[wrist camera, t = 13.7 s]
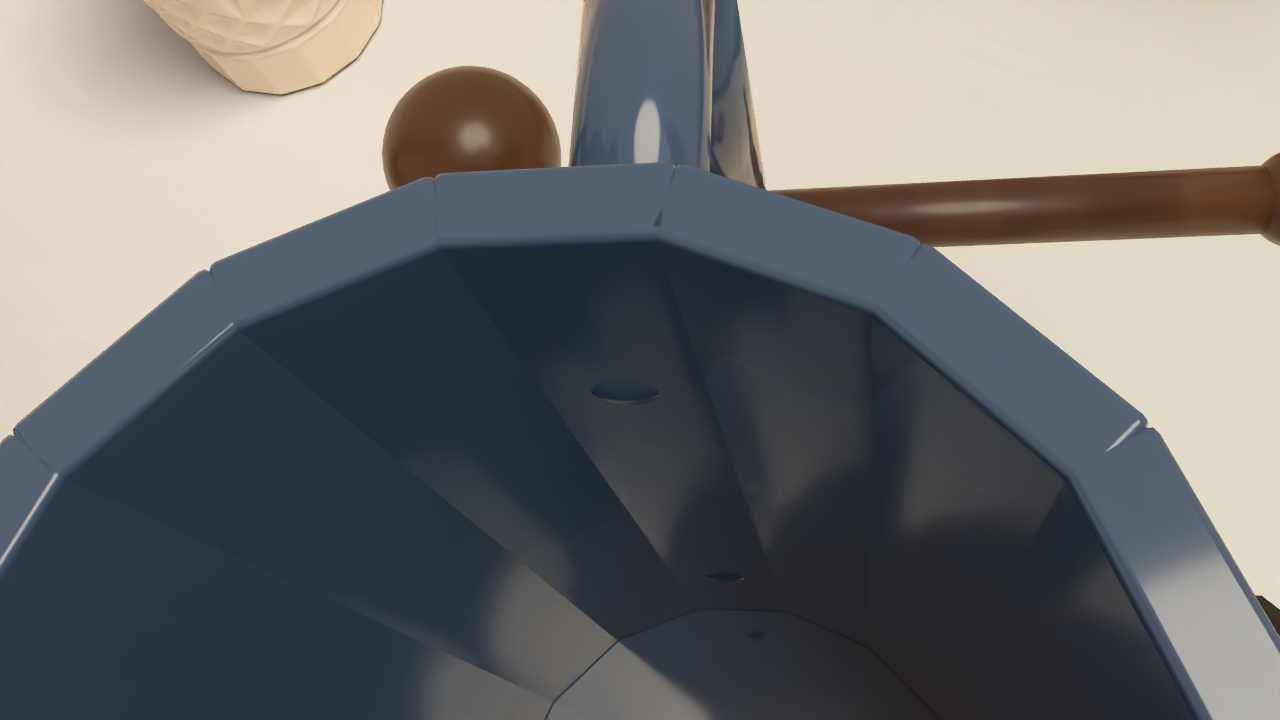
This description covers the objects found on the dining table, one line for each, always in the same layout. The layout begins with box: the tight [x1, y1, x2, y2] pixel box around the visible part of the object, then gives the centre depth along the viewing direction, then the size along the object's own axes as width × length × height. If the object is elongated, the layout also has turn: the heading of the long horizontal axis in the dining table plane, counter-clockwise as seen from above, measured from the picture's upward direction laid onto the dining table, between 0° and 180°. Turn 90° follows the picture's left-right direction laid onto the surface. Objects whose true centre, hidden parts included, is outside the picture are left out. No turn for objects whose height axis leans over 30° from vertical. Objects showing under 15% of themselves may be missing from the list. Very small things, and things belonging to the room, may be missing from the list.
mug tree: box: [382, 66, 1280, 247], centre depth 24 cm, size 22×11×18 cm, turn 87°
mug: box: [0, 0, 1280, 720], centre depth 9 cm, size 10×6×10 cm, turn 177°
